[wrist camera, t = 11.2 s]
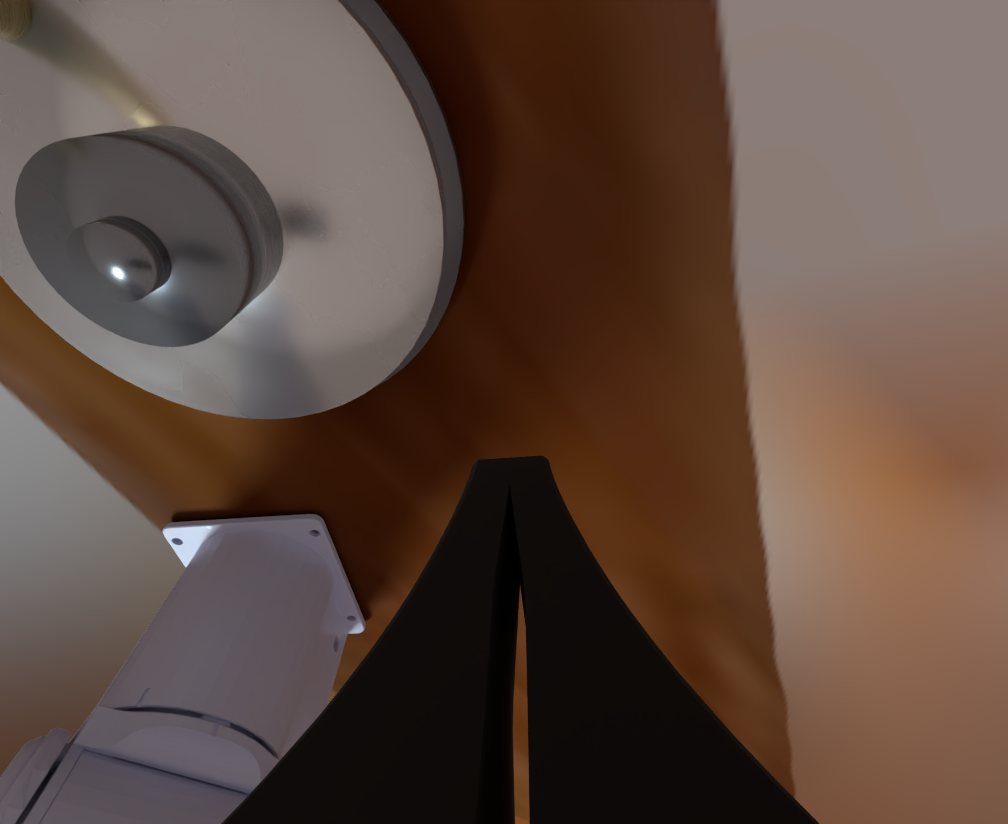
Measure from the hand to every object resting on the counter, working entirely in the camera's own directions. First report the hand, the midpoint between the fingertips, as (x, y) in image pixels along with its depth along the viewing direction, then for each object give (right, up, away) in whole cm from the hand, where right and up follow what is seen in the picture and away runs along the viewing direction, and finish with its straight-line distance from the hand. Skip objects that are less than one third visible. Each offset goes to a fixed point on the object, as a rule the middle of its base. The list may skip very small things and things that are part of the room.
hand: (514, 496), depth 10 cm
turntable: (-9, +8, +6) cm, 13 cm away
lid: (-9, +7, +5) cm, 13 cm away
